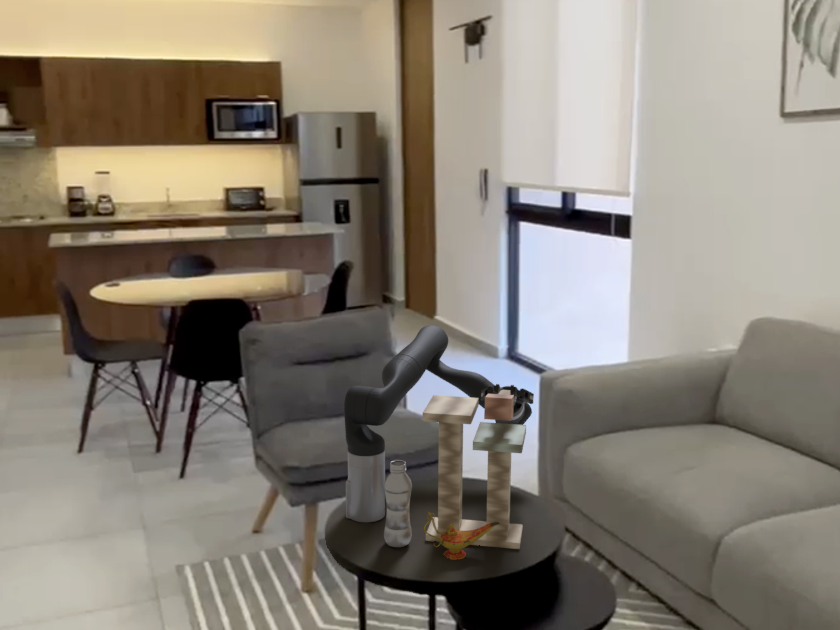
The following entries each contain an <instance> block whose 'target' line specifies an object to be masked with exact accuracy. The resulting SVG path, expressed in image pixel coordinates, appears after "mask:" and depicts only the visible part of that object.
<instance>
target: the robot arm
mask: <svg viewBox="0 0 840 630" xmlns="http://www.w3.org/2000/svg"><path fill="white" fill-rule="evenodd" d="M448 345H449V336H448V334H447V332H446V331H445V329H443V328H442V327H440V326H437V325H433V324H432V325H431V324H430V325H425V326H423V327H421V328H420V330H419V331H418V332H417V334H416V336H415V338H414V339H412V341H411V342H410V343H409V344H407V346H405V347H403V348H402V349H401V350H400V351H399V352H398V353H397V354H396V355H395V356H394V357H392V359H390V360H389V361H388V362H387V363H386V364H385V365H384V368H383V369H382V372H381V380H382V384H383V386H384V387H373V386H364V385H363V386H362V385H353V386H351V387H349V388H348V389H347V392H346V393H345V396H344V401H343V402H344V403H343V415H344V429H345V441H346V444H347V480H346V481H345V518H346V519H350V520H352V521H355V522H358V523H373V522H374V523H375V522H377V521H380V520H382V519H383V518H384V517H386V495H385V489H384V484H385V481H386V442H385V441H386V440H385V438H384V437H383V436H381V434H379V433H377V432H375V431H374V430H372V429H371V428H370V427H369V426H375V427H378V426H379V427H380V426H383V425H384V424H385V423H386V422H388V420H390V418H391V416H392V415H393V413H394V411H395V410H396V408H397V407H398V405H399V404H400V402H401V401H402V400H403V398H404V397H405V396H406V395H407V394H408V392H410V391H411V390H412V389H413V388H414V387H415V386H416V385H417V383H418V382H419V381H420V380H421V378H422V377H423V375H424V374H425V373H426V371H428V372H430V373H431V374H433V375H435V376H436V377H438V378H439V379H442V380H443V381H445V382H446V383H449V384H450V385H452V386H453V387H455V388H457V389H458V390H460V391H461V392H463V393H464V394H465V395H467V397H471V398H479V399H478V406H480V407H481V408H482V409H483V410H485V397H486V395H487V394H498V393H499V392H500V391H501V390H510V394H511V395H514V408H513V418H512V420H511V421H505V420H494V421H495V422H494V423H503V424H519V425H525V424H526V422H527V421H528V420H529V418H530V417H532V413H533V411H532V406H531V405H533V404H534V397H535V396H534V395H535V393H533V392H532V391H529V390H527V389H525V388H520V389H518V387H517V386H515V384H510V385H504V386H502V387H501V385H500V383H496V384H494V383H493V382H492V381H490V380H489V379H488V378H486V377H485V376H484V375H482V374H480V373H477V372H475V371H470V370H462V369H457V368H453V367H450V366H448V365H447V364H445V363H444V362H443V361H442V360H441V358H442V356H443V355H444V353H445V351H446V349H447V348H448Z"/></svg>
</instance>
